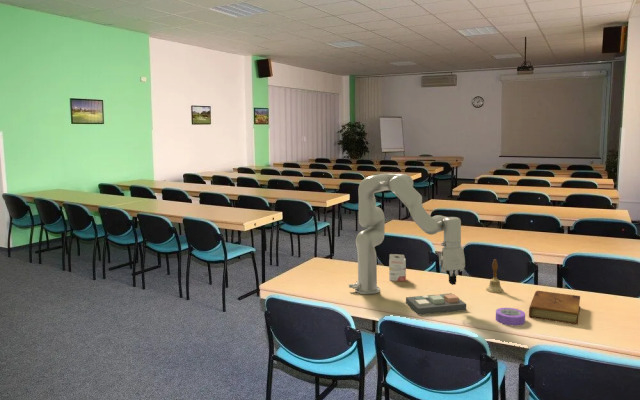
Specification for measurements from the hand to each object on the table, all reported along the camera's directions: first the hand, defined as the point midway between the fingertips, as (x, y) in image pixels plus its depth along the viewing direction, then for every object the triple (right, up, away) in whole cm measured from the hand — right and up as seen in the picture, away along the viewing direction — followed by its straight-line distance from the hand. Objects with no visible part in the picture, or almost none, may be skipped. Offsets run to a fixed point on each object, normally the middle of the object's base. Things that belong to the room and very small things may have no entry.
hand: (452, 283), depth 227 cm
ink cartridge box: (-18, -5, +44) cm, 48 cm away
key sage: (-7, -9, 0) cm, 11 cm away
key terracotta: (0, -8, +2) cm, 9 cm away
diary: (+43, -12, -7) cm, 45 cm away
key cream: (-14, -10, -1) cm, 17 cm away
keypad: (-7, -11, +2) cm, 13 cm away
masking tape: (+20, -13, -15) cm, 29 cm away
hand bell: (+27, -7, +23) cm, 36 cm away
